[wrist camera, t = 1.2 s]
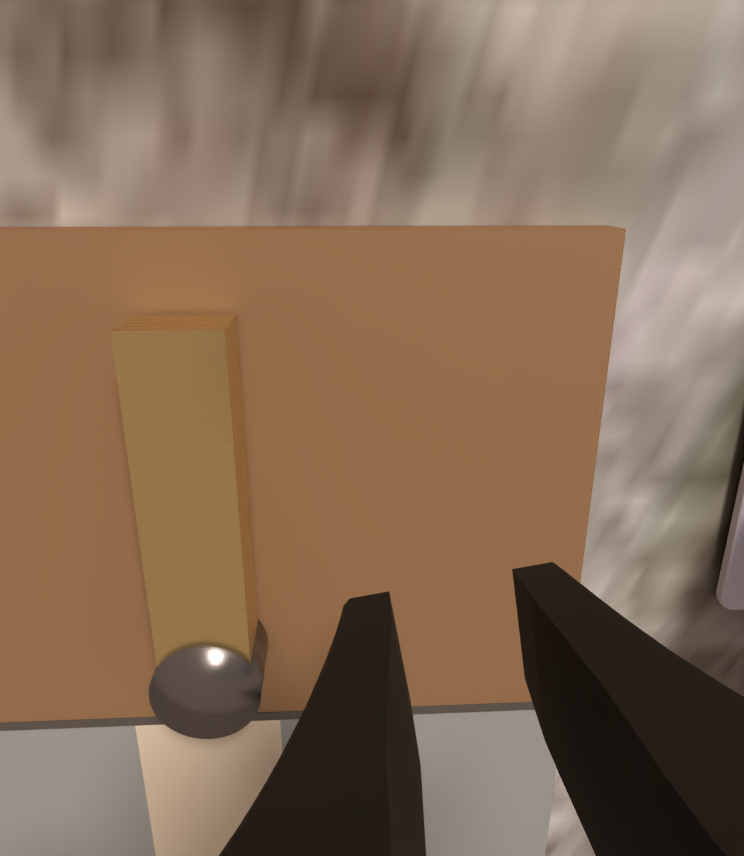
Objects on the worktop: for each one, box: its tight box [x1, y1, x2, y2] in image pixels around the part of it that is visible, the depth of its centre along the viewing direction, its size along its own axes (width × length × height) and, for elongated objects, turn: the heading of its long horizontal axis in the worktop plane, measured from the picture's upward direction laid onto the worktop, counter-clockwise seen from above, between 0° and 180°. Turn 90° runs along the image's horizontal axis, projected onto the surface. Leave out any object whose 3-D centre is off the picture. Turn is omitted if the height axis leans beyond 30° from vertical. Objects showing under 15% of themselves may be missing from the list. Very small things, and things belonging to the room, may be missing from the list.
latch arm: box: [110, 313, 268, 739], centre depth 18 cm, size 12×3×2 cm, turn 0°
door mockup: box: [0, 226, 626, 856], centre depth 21 cm, size 22×28×1 cm
